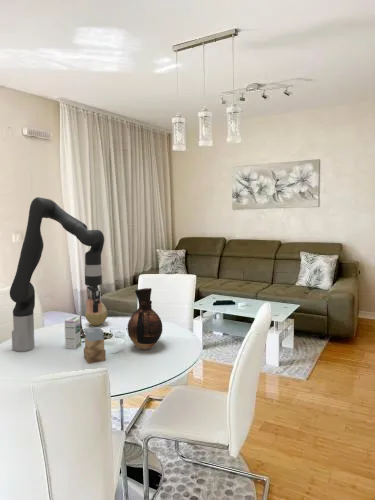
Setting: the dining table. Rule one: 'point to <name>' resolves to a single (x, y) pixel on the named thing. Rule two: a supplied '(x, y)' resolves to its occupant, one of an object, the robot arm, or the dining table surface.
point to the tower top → (94, 334)
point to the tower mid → (94, 345)
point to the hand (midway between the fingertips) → (93, 310)
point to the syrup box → (72, 332)
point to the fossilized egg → (97, 317)
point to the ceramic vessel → (144, 322)
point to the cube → (90, 307)
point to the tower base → (94, 356)
